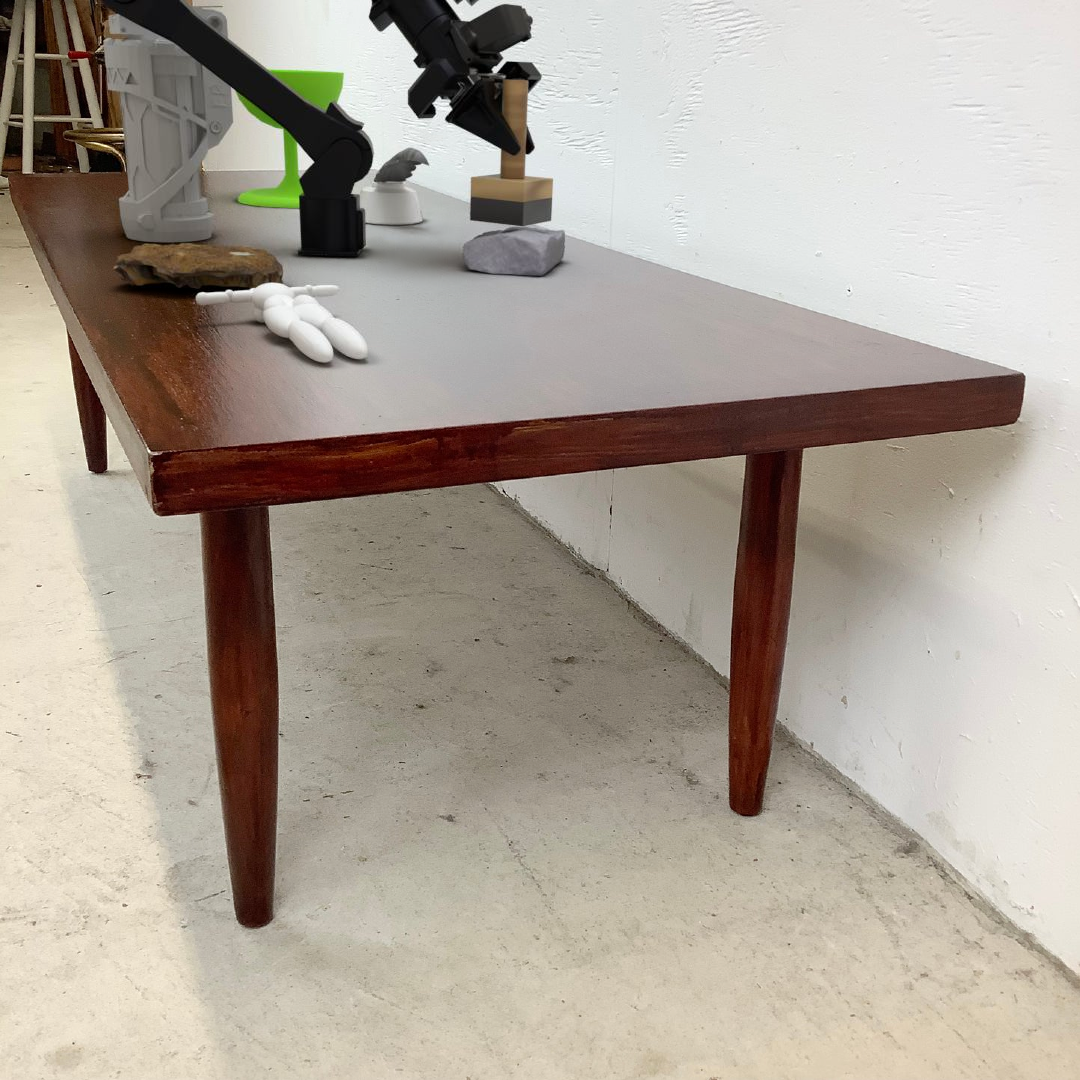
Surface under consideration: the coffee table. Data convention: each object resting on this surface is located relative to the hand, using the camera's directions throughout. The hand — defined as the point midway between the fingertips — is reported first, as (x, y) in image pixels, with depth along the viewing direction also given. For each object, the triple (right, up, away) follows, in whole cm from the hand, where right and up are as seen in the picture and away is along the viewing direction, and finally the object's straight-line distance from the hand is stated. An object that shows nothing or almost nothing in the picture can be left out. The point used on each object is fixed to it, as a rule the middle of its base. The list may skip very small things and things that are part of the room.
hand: (524, 152), depth 120 cm
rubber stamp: (-1, -6, +3) cm, 7 cm away
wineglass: (-35, +10, +52) cm, 63 cm away
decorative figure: (-17, -25, -30) cm, 43 cm away
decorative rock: (-30, -17, -12) cm, 37 cm away
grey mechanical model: (-41, -5, +16) cm, 44 cm away
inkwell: (-16, +1, +32) cm, 36 cm away
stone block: (-1, -11, +5) cm, 12 cm away
